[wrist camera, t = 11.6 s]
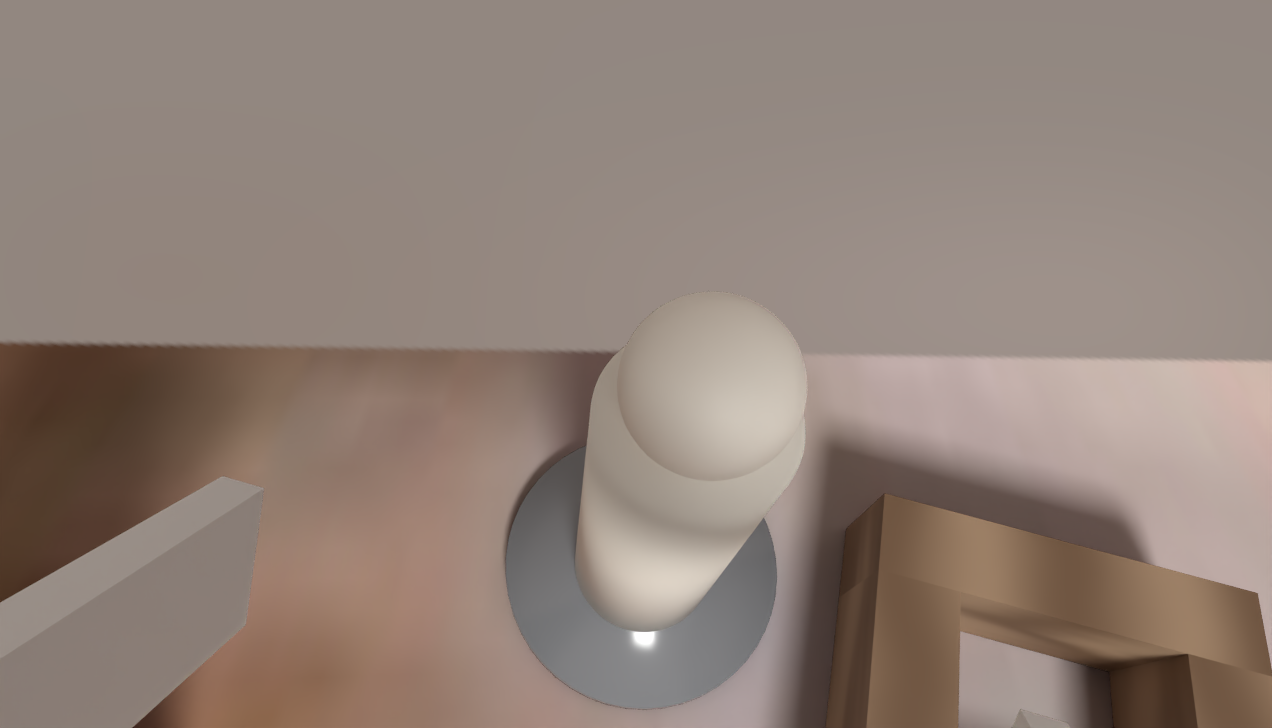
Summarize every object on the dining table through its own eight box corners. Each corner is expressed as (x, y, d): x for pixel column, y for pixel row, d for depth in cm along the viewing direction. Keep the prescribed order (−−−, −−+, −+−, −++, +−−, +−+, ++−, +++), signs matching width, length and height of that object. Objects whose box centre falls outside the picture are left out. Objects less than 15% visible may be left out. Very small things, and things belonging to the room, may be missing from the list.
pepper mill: (721, 516, 29) (870, 269, 15) (694, 649, 26) (846, 490, 13) (595, 481, 29) (635, 207, 16) (557, 610, 26) (565, 414, 13)
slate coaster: (789, 478, 30) (793, 472, 30) (749, 745, 25) (753, 744, 25) (552, 414, 31) (553, 407, 30) (466, 664, 26) (465, 662, 25)
